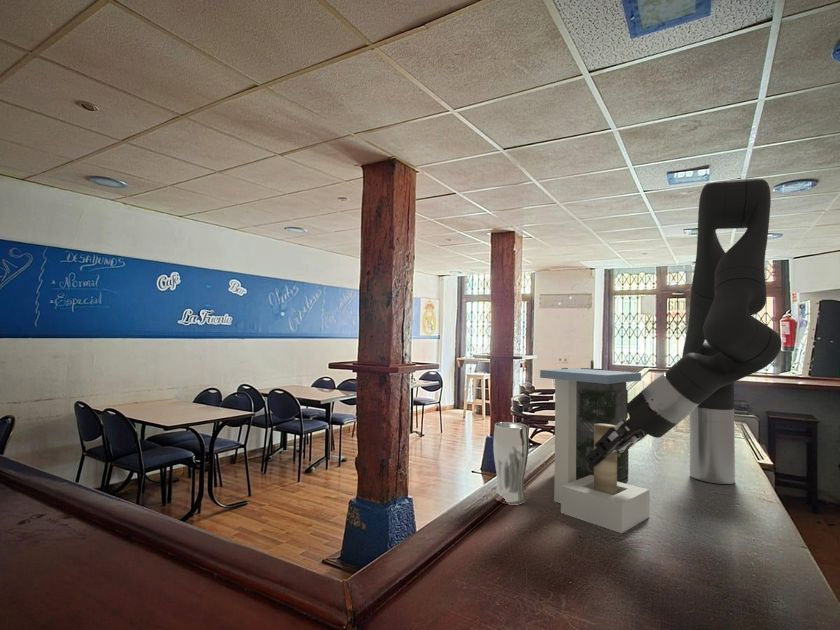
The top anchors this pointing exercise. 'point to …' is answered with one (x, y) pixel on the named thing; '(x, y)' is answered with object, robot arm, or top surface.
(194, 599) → the top surface
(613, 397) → the canister
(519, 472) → the beer glass
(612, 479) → the peg
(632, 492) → the kiosk
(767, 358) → the robot arm
